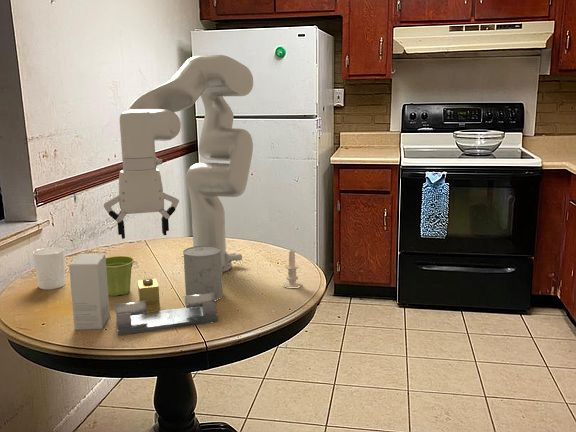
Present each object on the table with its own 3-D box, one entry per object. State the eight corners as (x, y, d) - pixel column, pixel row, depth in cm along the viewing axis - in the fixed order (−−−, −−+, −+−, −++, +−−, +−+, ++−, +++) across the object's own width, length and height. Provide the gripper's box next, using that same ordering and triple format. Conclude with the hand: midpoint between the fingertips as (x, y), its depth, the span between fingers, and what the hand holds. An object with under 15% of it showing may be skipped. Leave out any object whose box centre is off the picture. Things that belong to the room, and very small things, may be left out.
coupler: (139, 303, 142) (137, 277, 140) (157, 301, 143) (155, 275, 142) (141, 312, 136) (139, 285, 135) (160, 309, 137) (158, 283, 136)
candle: (282, 289, 151) (281, 251, 148) (283, 282, 156) (282, 246, 153) (301, 289, 150) (301, 251, 148) (302, 282, 155) (301, 246, 153)
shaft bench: (210, 308, 138) (209, 286, 137) (217, 321, 129) (217, 299, 128) (116, 320, 131) (114, 297, 130) (118, 335, 123) (116, 311, 121)
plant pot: (123, 300, 144) (121, 267, 142) (91, 296, 146) (88, 264, 145) (143, 288, 152) (140, 257, 151) (112, 285, 155) (110, 254, 153)
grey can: (229, 292, 148) (227, 247, 146) (212, 305, 140) (210, 257, 137) (196, 288, 152) (194, 244, 149) (178, 301, 143) (175, 254, 140)
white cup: (56, 291, 151) (52, 255, 149) (30, 289, 152) (26, 254, 150) (73, 281, 158) (69, 247, 156) (48, 280, 160) (44, 246, 158)
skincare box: (83, 316, 134) (77, 253, 130) (112, 315, 134) (106, 252, 131) (73, 331, 125) (66, 263, 122) (103, 329, 126) (98, 262, 123)
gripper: (174, 161, 138) (178, 229, 142) (100, 164, 133) (106, 235, 136) (178, 164, 131) (182, 236, 135) (100, 168, 126) (106, 242, 129)
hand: (144, 235), depth 135 cm, fingers open, 9 cm apart
